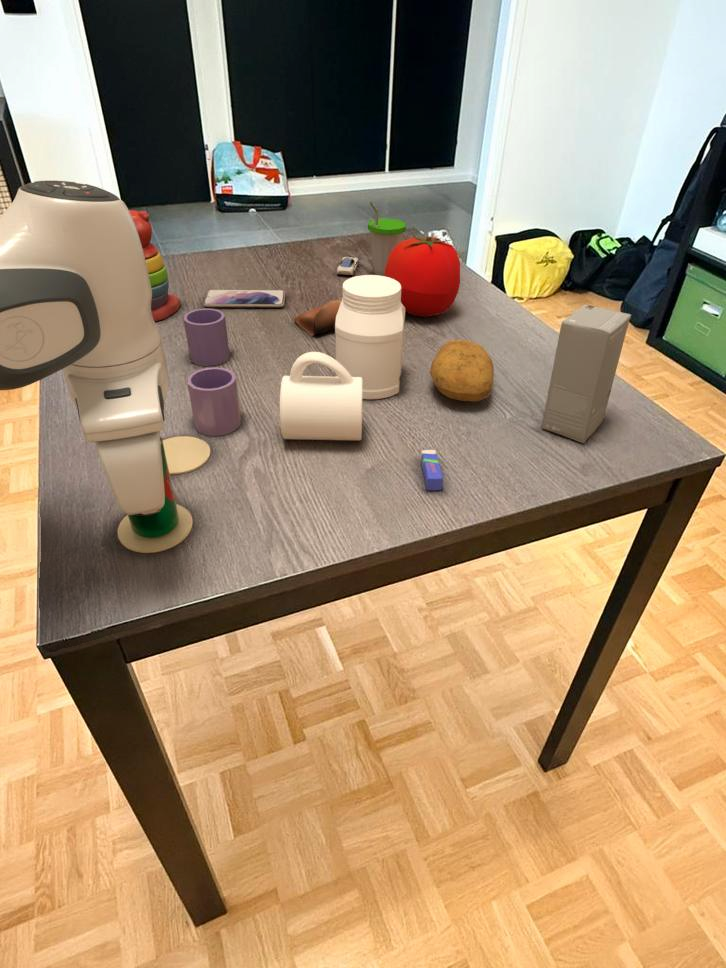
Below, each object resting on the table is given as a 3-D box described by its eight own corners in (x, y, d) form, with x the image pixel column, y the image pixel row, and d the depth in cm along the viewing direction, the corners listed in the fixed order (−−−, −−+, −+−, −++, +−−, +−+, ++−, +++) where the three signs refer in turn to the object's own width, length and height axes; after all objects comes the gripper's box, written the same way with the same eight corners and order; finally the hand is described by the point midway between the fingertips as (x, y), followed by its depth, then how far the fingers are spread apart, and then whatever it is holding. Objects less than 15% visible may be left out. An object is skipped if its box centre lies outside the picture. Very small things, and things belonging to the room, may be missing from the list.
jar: (397, 402, 91) (404, 303, 82) (332, 397, 92) (332, 299, 82) (402, 365, 100) (408, 272, 91) (343, 361, 101) (343, 268, 91)
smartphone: (283, 304, 116) (202, 304, 115) (284, 308, 117) (203, 308, 116) (285, 289, 121) (208, 289, 121) (285, 293, 122) (208, 293, 121)
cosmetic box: (583, 445, 83) (616, 335, 73) (534, 427, 87) (559, 319, 77) (605, 419, 89) (638, 313, 79) (558, 402, 92) (584, 299, 82)
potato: (424, 409, 90) (428, 366, 85) (432, 368, 100) (436, 327, 95) (489, 416, 89) (496, 373, 84) (490, 374, 98) (497, 333, 94)
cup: (401, 268, 135) (405, 194, 126) (405, 281, 129) (410, 204, 120) (365, 268, 135) (367, 193, 125) (367, 281, 129) (369, 204, 119)
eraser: (435, 461, 80) (436, 449, 78) (441, 491, 75) (443, 478, 74) (419, 462, 80) (421, 449, 78) (425, 491, 75) (427, 478, 74)
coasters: (119, 560, 65) (119, 558, 65) (111, 449, 80) (111, 447, 80) (234, 535, 68) (234, 533, 68) (205, 433, 84) (205, 431, 83)
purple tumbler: (198, 439, 82) (190, 393, 78) (192, 415, 87) (184, 370, 83) (244, 431, 84) (239, 386, 80) (236, 408, 89) (230, 364, 84)
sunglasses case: (370, 297, 120) (382, 273, 115) (388, 326, 119) (401, 303, 113) (290, 319, 112) (298, 294, 106) (309, 350, 110) (318, 326, 105)
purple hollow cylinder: (193, 368, 98) (186, 326, 93) (188, 351, 102) (181, 310, 98) (232, 363, 99) (227, 321, 95) (225, 346, 104) (220, 306, 100)
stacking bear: (182, 301, 118) (165, 202, 107) (173, 323, 110) (154, 219, 99) (124, 301, 118) (101, 201, 106) (111, 324, 110) (85, 218, 99)
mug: (361, 452, 81) (363, 370, 73) (281, 451, 81) (275, 368, 73) (361, 418, 87) (363, 339, 80) (287, 417, 87) (282, 337, 80)
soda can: (122, 535, 67) (96, 444, 60) (148, 506, 71) (126, 417, 64) (164, 546, 66) (142, 454, 59) (188, 516, 70) (170, 426, 63)
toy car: (361, 259, 139) (361, 247, 138) (352, 278, 130) (352, 265, 128) (345, 258, 139) (345, 246, 138) (335, 276, 130) (335, 264, 129)
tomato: (455, 329, 111) (465, 252, 103) (379, 323, 112) (382, 246, 104) (456, 296, 123) (465, 224, 115) (387, 291, 124) (391, 220, 116)
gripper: (80, 331, 64) (112, 442, 72) (80, 438, 49) (120, 562, 57) (144, 323, 65) (167, 433, 74) (163, 424, 50) (189, 547, 59)
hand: (147, 490), depth 66 cm, fingers closed on soda can, 5 cm apart
